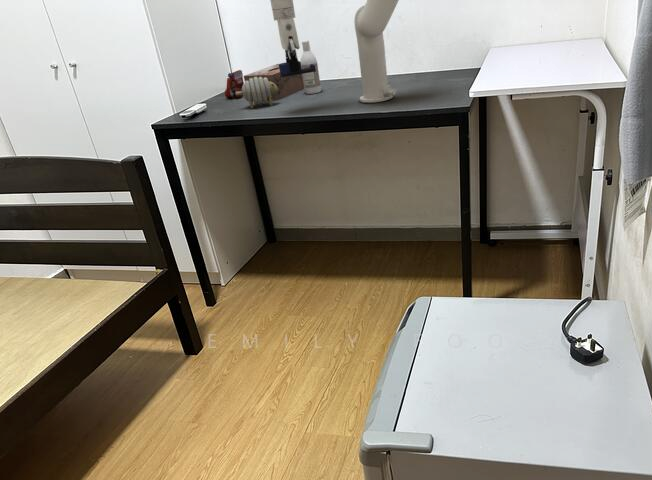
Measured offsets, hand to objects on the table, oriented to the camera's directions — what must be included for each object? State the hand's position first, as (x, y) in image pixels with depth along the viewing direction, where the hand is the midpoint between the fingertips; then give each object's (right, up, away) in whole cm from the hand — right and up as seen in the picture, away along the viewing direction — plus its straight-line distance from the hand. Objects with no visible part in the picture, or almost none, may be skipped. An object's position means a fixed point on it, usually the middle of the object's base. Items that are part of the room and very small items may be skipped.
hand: (293, 69), depth 200 cm
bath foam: (+4, +5, +35) cm, 36 cm away
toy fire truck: (-31, +7, +47) cm, 57 cm away
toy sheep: (-16, -5, +24) cm, 29 cm away
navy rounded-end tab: (+1, -1, +1) cm, 2 cm away
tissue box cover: (-12, +7, +42) cm, 45 cm away
